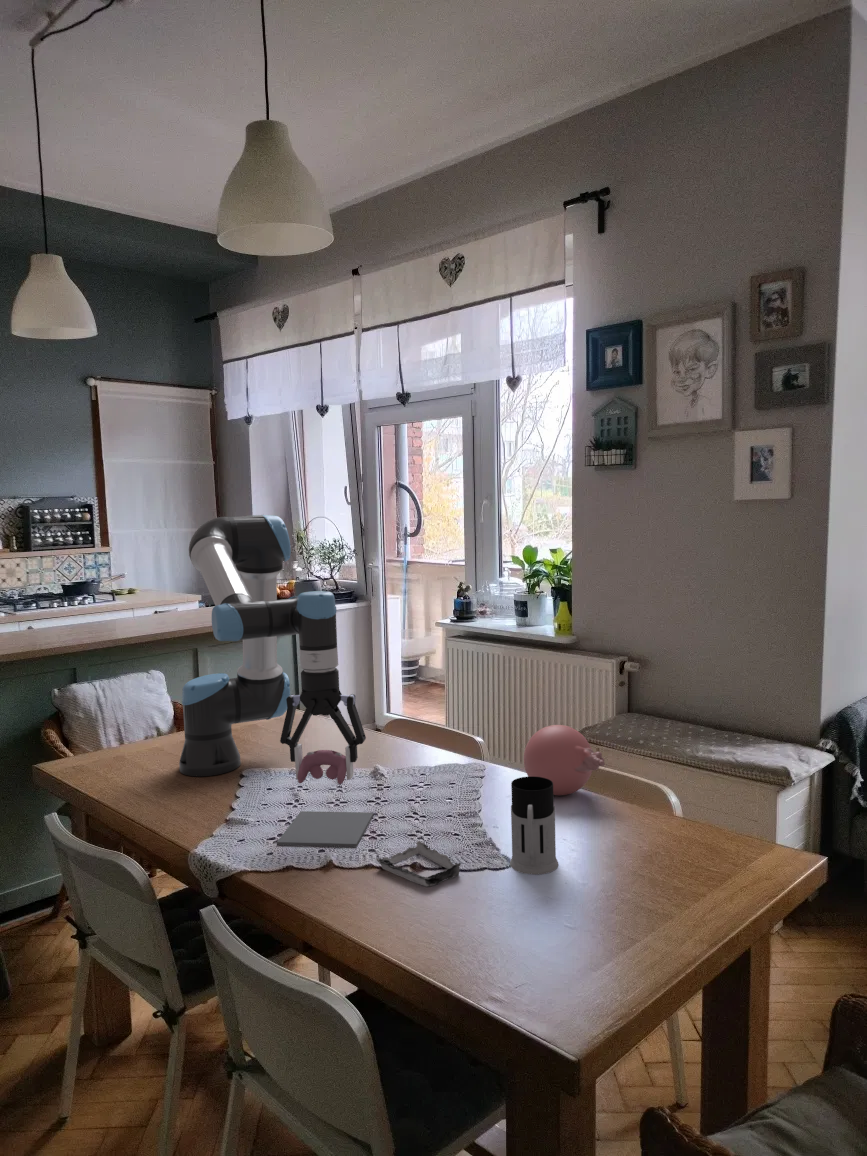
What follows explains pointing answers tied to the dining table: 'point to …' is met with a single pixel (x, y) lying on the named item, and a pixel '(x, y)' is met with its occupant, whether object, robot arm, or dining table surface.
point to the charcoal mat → (326, 829)
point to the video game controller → (323, 757)
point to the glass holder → (533, 826)
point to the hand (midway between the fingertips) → (324, 777)
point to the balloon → (561, 758)
